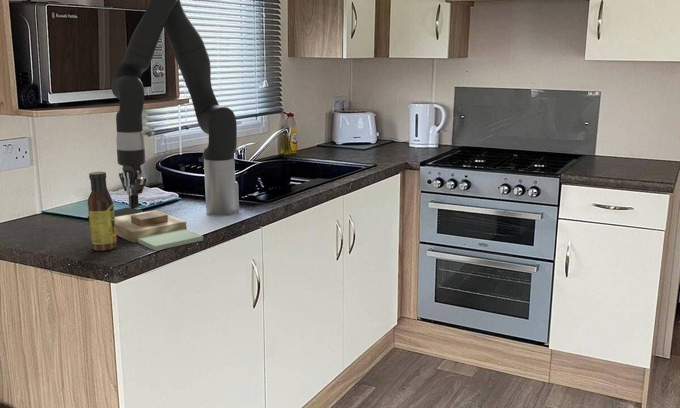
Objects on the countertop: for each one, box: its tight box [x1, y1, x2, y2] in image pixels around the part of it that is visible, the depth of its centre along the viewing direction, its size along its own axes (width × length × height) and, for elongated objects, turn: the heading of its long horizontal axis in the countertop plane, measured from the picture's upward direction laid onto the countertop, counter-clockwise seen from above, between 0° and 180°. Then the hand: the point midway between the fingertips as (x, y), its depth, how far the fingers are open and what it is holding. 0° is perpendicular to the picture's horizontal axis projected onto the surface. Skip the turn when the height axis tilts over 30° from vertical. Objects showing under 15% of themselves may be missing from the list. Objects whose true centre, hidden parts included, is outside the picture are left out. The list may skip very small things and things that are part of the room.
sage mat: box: [137, 229, 204, 251], centre depth 183 cm, size 14×10×1 cm
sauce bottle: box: [87, 171, 118, 252], centre depth 175 cm, size 6×6×20 cm
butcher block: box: [115, 209, 188, 244], centre depth 193 cm, size 16×18×3 cm
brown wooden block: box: [131, 210, 169, 227], centre depth 190 cm, size 8×6×2 cm
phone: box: [87, 206, 143, 219], centre depth 210 cm, size 8×1×15 cm
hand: (133, 207), depth 196 cm, fingers closed
